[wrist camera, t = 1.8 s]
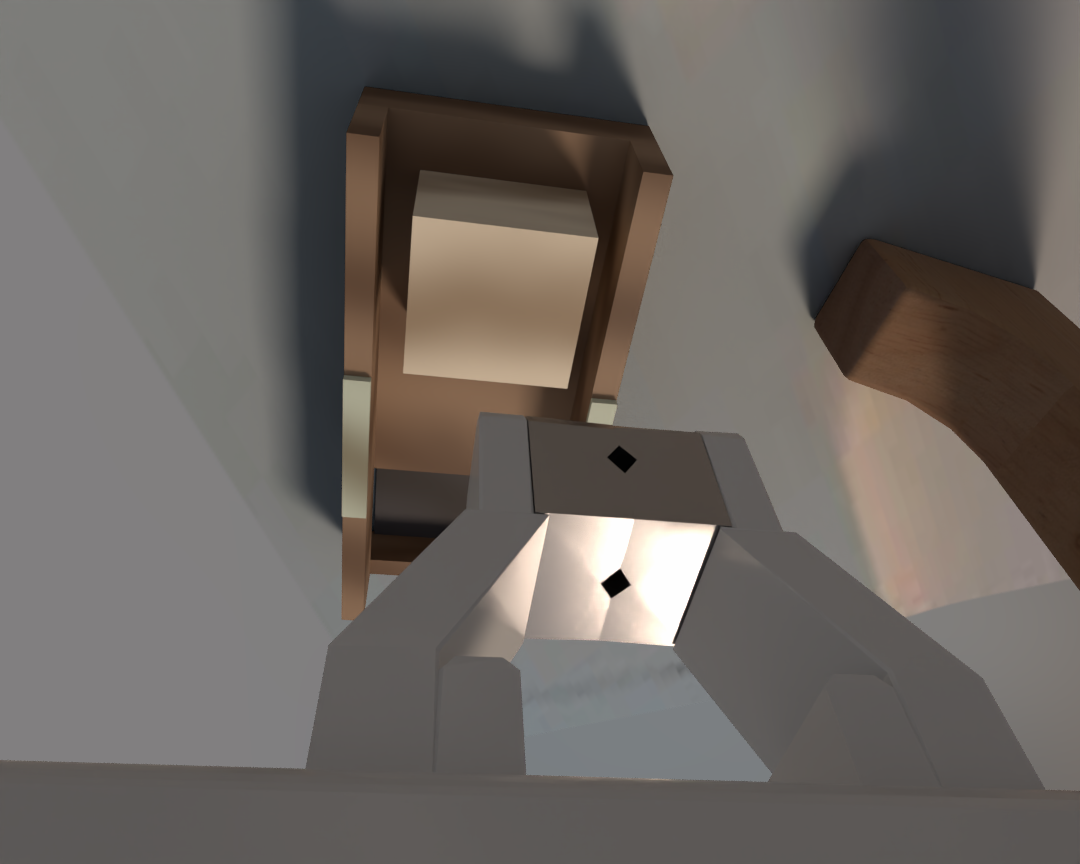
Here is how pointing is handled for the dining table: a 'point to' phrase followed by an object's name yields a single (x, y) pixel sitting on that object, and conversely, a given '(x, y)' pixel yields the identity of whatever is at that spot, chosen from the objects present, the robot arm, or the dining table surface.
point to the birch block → (497, 279)
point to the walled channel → (382, 293)
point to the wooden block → (971, 372)
